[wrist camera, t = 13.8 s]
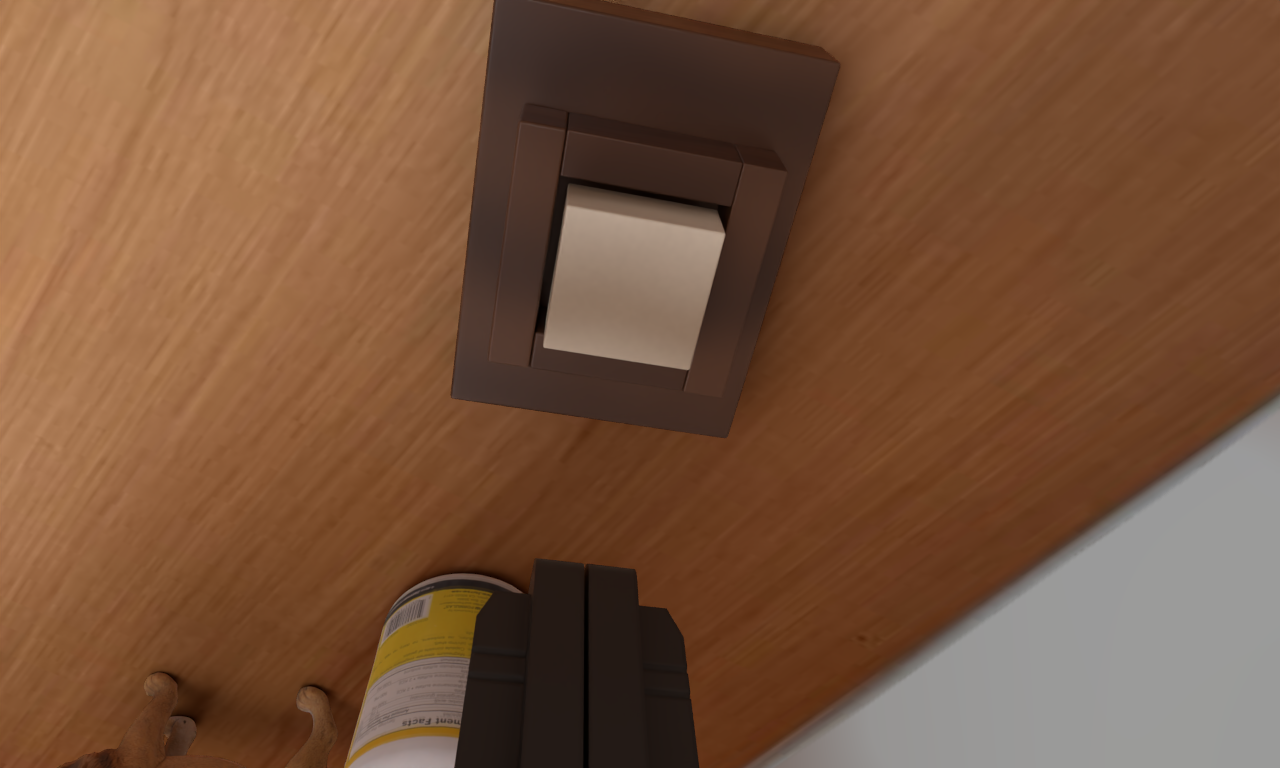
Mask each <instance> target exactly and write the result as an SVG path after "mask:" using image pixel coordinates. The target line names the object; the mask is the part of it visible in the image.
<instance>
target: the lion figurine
mask: <svg viewBox="0 0 1280 768" xmlns="http://www.w3.org/2000/svg"><path fill="white" fill-rule="evenodd" d="M144 689H145V691H146V694H147V695H149V696H153V697H154V698H153V699H152V701H151V702H150V703H149V704H148V705H147V706H146V707H145V709H144V710H143V711H142V712H141V714H140V715H139V716H138V718H137V719H136V720H135V721H134V723H133V724H132V725H131V727H130V728H129V729H128V731H127V732H126V734H125V736H124V738H123V740H122V742H121V743H120V745H119V747H118V748H117V749H106V750H103V751H101V752H99V753H96V752H94V753H91V754H86V755H83V756H82V757H80V758H78V759H77V760H75V761H72V762H67V763H64V764H63V765H60V766H59V767H57V768H246V767H244V766H242V765H241V764H238V763H235V762H232V761H230V760H226V759H222V758H216V757H211V756H202V755H186V753H187V751H188V749H189V747H190V746H191V744H192V742H193V741H194V739H195V737H196V725H195V722H194V721H193V720H192V719H191V718H189V717H185V716H173V717H170V716H171V713H172V711H173V710H174V708H175V707H176V705H177V702H178V699H177V683H176V682H175V681H174V680H173V679H172V678H171V677H170V676H168V675H167V674H165V673H160V672H157V673H154V674H152V675H150V676H149V677H148V678H147V679H146V681H145V684H144ZM297 707H298V708H299V709H300V710H302V711H306V712H309V713H311V714H312V717H313V721H314V725H313V730H312V734H311V736H310V738H309V739H308V741H307V742H306V743H305V744H304V745H303V747H302V748H301V749H300V750H299V751H298V753H297V754H296V755H295V756H294V757H293V758H292V759H291V760H290V761H289V762H288V764H287V765H286V767H285V768H327V758H328V754H329V752H330V750H331V748H332V746H333V745H334V743H335V741H336V740H337V737H338V731H337V728H336V725H335V723H334V719H333V716H332V713H331V708H330V704H329V700H328V698H327V696H326V694H325V693H324V692H323V691H322V690H320V689H318V688H315V687H311V686H308V687H304V688H302V689H300V690H299V692H298V695H297ZM163 734H165V735H166V736H167V738H168V741H167V743H166V745H165V746H164V741H163Z"/></svg>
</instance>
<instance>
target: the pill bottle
mask: <svg viewBox="0 0 1280 768" xmlns="http://www.w3.org/2000/svg"><path fill="white" fill-rule="evenodd" d="M495 590H496V591H505V592H515V593H522V592H521V591H520V590H518V589H517V588H515V587H514V586H512V585H510V584H508V583H506V582H504V581H501V580H498V579H495V578H492V577H488V576H484V575H479V574H466V573H459V574H448V575H442V576H438V577H434V578H431V579H428V580H426V581H423V582H421V583H419V584H417V585H416V586H414V587H412V588H411V589H409V590H408V591H406V592H405V593H404V594H403V595H402V596H401V597H400V598H399V599H398V600H397V601H396V602H395V603H394V605H393V606H392V608H391V609H390V611H389V613H388V615H387V618H386V620H385V623H384V627H383V630H382V634H381V638H380V641H379V645H378V649H377V653H376V657H375V661H374V665H373V668H372V672H371V676H370V679H369V683H368V686H367V690H366V693H365V697H364V700H363V704H362V707H361V711H360V714H359V718H358V721H357V725H356V729H355V732H354V736H353V739H352V743H351V746H350V750H349V753H348V757H347V760H346V763H345V767H344V768H454V766H455V759H456V752H457V745H458V738H459V732H460V725H461V718H462V711H463V704H464V697H465V691H466V684H467V677H468V670H469V663H470V657H471V650H472V643H473V636H474V629H475V622H476V616H477V614H478V613H479V612H480V610H481V609H482V608H483V606H484V605H485V603H486V602H487V601H488V599H489V598H490V597H491V595H492V594H493V592H494V591H495Z"/></svg>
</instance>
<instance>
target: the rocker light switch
mask: <svg viewBox="0 0 1280 768" xmlns="http://www.w3.org/2000/svg"><path fill="white" fill-rule="evenodd" d="M839 69H840V62H838V61H837V60H836V59H835V58H834V57H832V56H831V55H830V54H829V53H828V52H827V51H825V50H824V49H823V48H822V47H818V46H813V45H808V44H804V43H799V42H794V41H790V40H785V39H780V38H776V37H771V36H766V35H761V34H757V33H752V32H747V31H743V30H738V29H733V28H728V27H724V26H719V25H714V24H710V23H705V22H700V21H696V20H691V19H686V18H681V17H677V16H672V15H667V14H663V13H658V12H653V11H648V10H644V9H639V8H634V7H630V6H625V5H620V4H615V3H611V2H606V1H601V0H494V4H493V13H492V23H491V32H490V41H489V50H488V59H487V68H486V77H485V86H484V96H483V105H482V114H481V123H480V132H479V141H478V150H477V159H476V168H475V178H474V187H473V196H472V205H471V214H470V223H469V232H468V241H467V251H466V260H465V269H464V278H463V287H462V296H461V305H460V314H459V324H458V333H457V342H456V351H455V360H454V369H453V378H452V387H451V398H453V399H460V400H467V401H474V402H481V403H488V404H494V405H501V406H508V407H515V408H522V409H529V410H536V411H543V412H549V413H556V414H563V415H570V416H577V417H584V418H591V419H597V420H604V421H611V422H618V423H625V424H632V425H639V426H645V427H652V428H659V429H666V430H673V431H680V432H687V433H693V434H700V435H707V436H714V437H721V438H727V437H728V434H729V431H730V428H731V424H732V421H733V418H734V415H735V411H736V408H737V405H738V401H739V398H740V395H741V392H742V388H743V385H744V382H745V378H746V375H747V372H748V369H749V365H750V362H751V359H752V355H753V352H754V349H755V346H756V342H757V339H758V336H759V332H760V329H761V326H762V322H763V319H764V316H765V313H766V309H767V306H768V303H769V299H770V296H771V293H772V290H773V286H774V283H775V280H776V276H777V273H778V270H779V267H780V263H781V260H782V257H783V253H784V250H785V247H786V244H787V240H788V237H789V234H790V230H791V227H792V224H793V221H794V217H795V214H796V211H797V207H798V204H799V201H800V198H801V194H802V191H803V188H804V184H805V181H806V178H807V174H808V171H809V168H810V165H811V161H812V158H813V155H814V151H815V148H816V145H817V142H818V138H819V135H820V132H821V128H822V125H823V122H824V119H825V115H826V112H827V109H828V105H829V102H830V99H831V96H832V92H833V89H834V86H835V82H836V79H837V76H838V73H839ZM569 183H572V184H577V185H583V186H588V187H594V188H599V189H605V190H610V191H616V192H621V193H627V194H632V195H638V196H643V197H649V198H654V199H660V200H665V201H671V202H676V203H682V204H687V205H692V206H698V207H703V208H709V209H714V210H717V211H718V214H719V217H720V219H721V222H722V225H723V228H724V231H725V239H724V243H723V246H722V250H721V254H720V258H719V261H718V265H717V269H716V273H715V276H714V280H713V284H712V288H711V292H710V295H709V299H708V303H707V307H706V310H705V314H704V318H703V322H702V325H701V329H700V333H699V337H698V340H697V344H696V348H695V352H694V356H693V359H692V363H691V367H690V369H689V370H684V369H677V368H671V367H665V366H658V365H652V364H645V363H639V362H632V361H626V360H620V359H613V358H607V357H600V356H594V355H588V354H581V353H575V352H568V351H562V350H555V349H549V348H544V347H543V341H544V332H545V323H546V315H547V309H548V303H549V297H550V291H551V285H552V279H553V273H554V267H555V261H556V255H557V248H558V242H559V236H560V230H561V224H562V218H563V212H564V206H565V200H566V194H567V188H568V184H569Z"/></svg>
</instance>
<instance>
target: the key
mask: <svg viewBox="0 0 1280 768" xmlns="http://www.w3.org/2000/svg"><path fill="white" fill-rule="evenodd" d="M724 239H725V231H724V228H723V225H722V222H721V219H720V217H719V214H718V211H717V210H714V209H709V208H703V207H698V206H692V205H687V204H682V203H676V202H671V201H665V200H660V199H654V198H649V197H643V196H638V195H632V194H627V193H621V192H616V191H610V190H605V189H599V188H594V187H588V186H583V185H577V184H572V183H569V184H568V188H567V194H566V200H565V206H564V212H563V218H562V224H561V230H560V236H559V242H558V248H557V255H556V261H555V267H554V273H553V279H552V285H551V291H550V297H549V303H548V309H547V315H546V323H545V332H544V341H543V347H544V348H549V349H555V350H562V351H568V352H575V353H581V354H588V355H594V356H600V357H607V358H613V359H620V360H626V361H632V362H639V363H645V364H652V365H658V366H665V367H671V368H677V369H684V370H689V369H690V367H691V363H692V359H693V356H694V352H695V348H696V344H697V340H698V337H699V333H700V329H701V325H702V322H703V318H704V314H705V310H706V307H707V303H708V299H709V295H710V292H711V288H712V284H713V280H714V276H715V273H716V269H717V265H718V261H719V258H720V254H721V250H722V246H723V243H724Z"/></svg>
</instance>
